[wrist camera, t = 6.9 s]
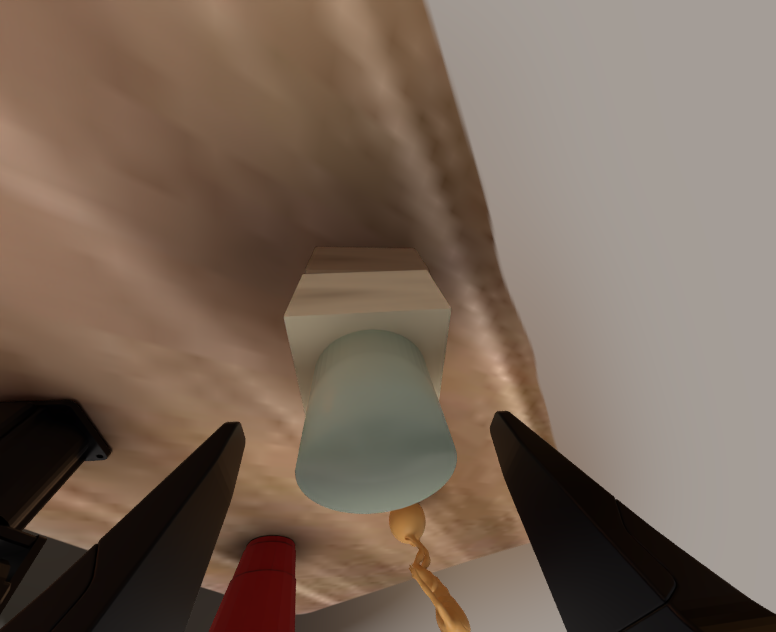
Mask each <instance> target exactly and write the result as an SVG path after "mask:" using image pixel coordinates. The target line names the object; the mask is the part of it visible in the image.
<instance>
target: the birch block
mask: <svg viewBox="0 0 776 632" xmlns="http://www.w3.org/2000/svg"><path fill="white" fill-rule="evenodd" d="M450 314H451V307H450V306H449V304H448V303H447V301H446V299H445V298H444V296H443V295H442V293H441V291H440V290H439V288H438V287H437V285H436V284H435V282H434V280H433V279H432V277H431V276H430V274H429V272H428V271H427V270H408V271H380V272H352V273H323V274H302V277H301V279H300V281H299V283H298V285H297V288H296V290H295V292H294V294H293V297H292V299H291V301H290V303H289V306H288V308H287V310H286V312H285V314H284V321H285V326H286V330H287V335H288V339H289V344H290V348H291V353H292V358H293V362H294V367H295V371H296V376H297V380H298V385H299V389H300V394H301V398H302V403H303V407H304V412H305V416H306V411H307V406H308V401H309V396H310V390H311V385H312V380H313V375H314V370H315V365H316V362H317V360H318V358H319V356H320V355H321V353H322V352H323V351H324V350H325V349H326V348H327V347H328V346H329V345H330V344H331V343H332V342H334V341H335V340H337V339H339V338H340V337H342V336H345V335H347V334H350V333H353V332H356V331H362V330H385V331H390V332H393V333H397V334H399V335H401V336H403V337H405V338H407V339H409V340H410V341H411V342H412V343H414V344H415V345H416V346H417V347H418V349H419V350H420V352H421V353H422V355H423V357H424V360H425V363H426V366H427V368H428V371H429V374H430V377H431V380H432V383H433V386H434V389H435V391H436V394H437V397H438V400H439V396H440V389H441V381H442V374H443V366H444V359H445V351H446V344H447V337H448V329H449V322H450Z"/></svg>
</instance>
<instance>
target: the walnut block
mask: <svg viewBox="0 0 776 632" xmlns="http://www.w3.org/2000/svg"><path fill="white" fill-rule="evenodd" d="M408 270H427V271H428V272H429V269H428V268H427V266H426V265H425V263H424V262H423V260H422V259H421V257H420V255H419V254H418V252H417V251H416V249H415V248H366V247H315V249H314V251H313V253H312V256H311V258H310V260H309V262H308V264H307V267H306V269H305V274H323V273H352V272H380V271H408Z"/></svg>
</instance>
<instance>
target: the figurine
mask: <svg viewBox="0 0 776 632" xmlns="http://www.w3.org/2000/svg"><path fill="white" fill-rule="evenodd" d="M389 525H390V529H391V531H392V533H393V535H394V536H395V538H396V539H397V540H399V541H400V542H402V543H405V544H411V545H412V546H414V547H415V546H416V547H417V548H418V549H419V551H418V553H417V555H416V558H415V561H414V563H413V564H412V566H413V568H412V567H411V565H410V568H411V569H410V568H409V569H410V571H411V573H412V574H413V575H412V577H413V578H414V579H416V580H417V581H418V583H419V584H420V586H421V588H422V589H423V591H424V592H425V593H426V594H427V595H428V596H429V597H430V599H431V601H432V602H433V604H434V606H435V607H436V619H437V623H438V626H439V628H440V630H441V632H470V624H469V621H468V619H467V617H466V615H465V613H464V611H463V610H462V609H461V607H460V606H459V605H458V603H457V602H456V601H455V599H454V598H453V597H452V596H450V594H449V591H448V589H447V588H446V587H445V586H444V585H443V584H442V583H441V582H440V580H439V579H438V578H437V577H436V576H434V575H433V574H432V573H431V572H430V571H428V570H427V569H426V568H427V567H428V566H429V565H430V557H429V553H428V551H427V549H426V548H425V547H424V546H423V545H422V543H421V542H420V537H421V536H422V534H423V532H424V529H425V515H424V512H423V509H422V508H421V506H420V505H419V504H418V503H415V504H413V505H410V506H407V507H404V508H401V509H397V510H393V511H391V512H390V516H389ZM424 554H425V556H424ZM422 560H423V562H422V566H421V565H420V564H419V563H420V562H421V561H422Z"/></svg>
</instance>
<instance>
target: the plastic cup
mask: <svg viewBox="0 0 776 632" xmlns="http://www.w3.org/2000/svg"><path fill="white" fill-rule="evenodd" d="M295 562H296V550H295V544H294V542H293V541H292V540H290V539H288V538H286V537H281V536H265V537H259V538H257V539H254V540H252V541H251V542H250V543H249V544H248V545H247V547H246V550H245V551H244V552H243V555H242V557H241V559H240V562H239V564H238V567H237V569H236V571H235V574H234V576H233V579H232V580H231V581H230V583H229V586H228V588H227V590H226V593H225V595H224V598H223V600H222V602H221V605H220V607H219V609H218V611H217V614H216V616H215V618H214V621H213V623H212V625H211V628H210V630H209V632H295V596H296V578H295Z"/></svg>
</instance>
